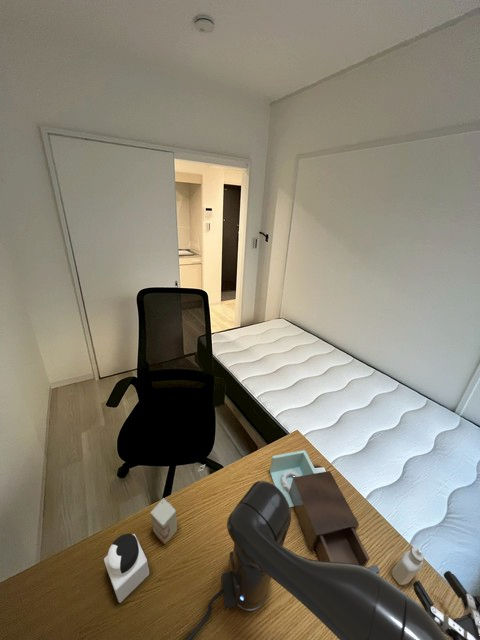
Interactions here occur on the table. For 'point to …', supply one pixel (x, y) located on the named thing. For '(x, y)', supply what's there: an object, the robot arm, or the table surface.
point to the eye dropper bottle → (408, 566)
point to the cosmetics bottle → (164, 520)
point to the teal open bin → (290, 470)
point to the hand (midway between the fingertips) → (430, 577)
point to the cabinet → (320, 506)
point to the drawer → (343, 548)
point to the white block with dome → (126, 565)
